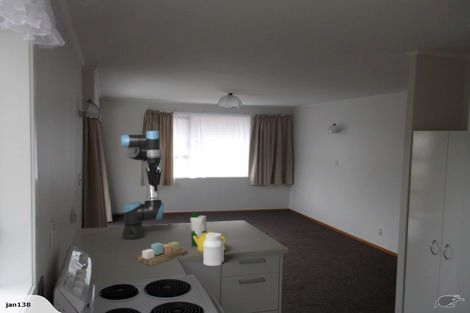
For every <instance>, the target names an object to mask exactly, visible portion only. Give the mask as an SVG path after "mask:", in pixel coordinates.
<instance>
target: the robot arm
mask: <svg viewBox="0 0 470 313" xmlns="http://www.w3.org/2000/svg"><path fill="white" fill-rule="evenodd" d="M120 145H121V147H122V148H124V154H125V155H126V156H127V157H128V158H129V159H131V160H133V161H134V160H135V161H142V163H143V164H144V165H145V189H146V191H145V192H146V195H145V196H146V198H145V200H144V203H142V202H141V201H133V202H129V203H126V204H125V205H124V206H123V221H124V222H123V223H124V224H123V225H124V226H123V229H122V233H121V238H122V240H137V239H139V240H140V239H142V238H145V236H146V232H145V229H144V227H143V221H145V222H146V221H159V220H162V218H163V216H164V206H165V203H164V202H163V201H162V199H161V198H160V187H159V186H160V183H161V176H162V172H163V169H162V168H160V163H161V160H162V159H163V157H162V151H161V146H160V131H159V130H147V131H146V133H145V134H122V135H121V136H120Z"/></svg>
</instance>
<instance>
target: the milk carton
mask: <svg viewBox="0 0 470 313" xmlns="http://www.w3.org/2000/svg"><path fill="white" fill-rule="evenodd" d="M204 233H207V215H199V212H193V213H191V217H190V234H191V236H190V237H191V247H192V246H198V245H197V244H196V242H195V240H194V238H193V236H197V237H198V238H199V236H201V235H202V234H204Z"/></svg>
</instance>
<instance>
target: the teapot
mask: <svg viewBox="0 0 470 313" xmlns="http://www.w3.org/2000/svg"><path fill="white" fill-rule="evenodd" d="M208 233H214V232H213V231H207V232H206V233H204V234H202V235H201V236H199V238H198V237H197V236H193V238H194V240H195V242H196V244H197V245H198V247H196V248H197V253H198V254H199V253H203V243H204V241H205V239H206V234H208ZM220 234H221V239H222V241H223V242H224V245H225V244H226V241H227V240H226V237H225V236H223V234H222V233H220ZM225 250H226V247H225V246H224V251H225Z"/></svg>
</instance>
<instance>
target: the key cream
mask: <svg viewBox="0 0 470 313" xmlns="http://www.w3.org/2000/svg"><path fill="white" fill-rule="evenodd" d="M141 254H142V258H145V259H150V258H153V257H154V250H151V248H147V249H144V250H142V251H141Z"/></svg>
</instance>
